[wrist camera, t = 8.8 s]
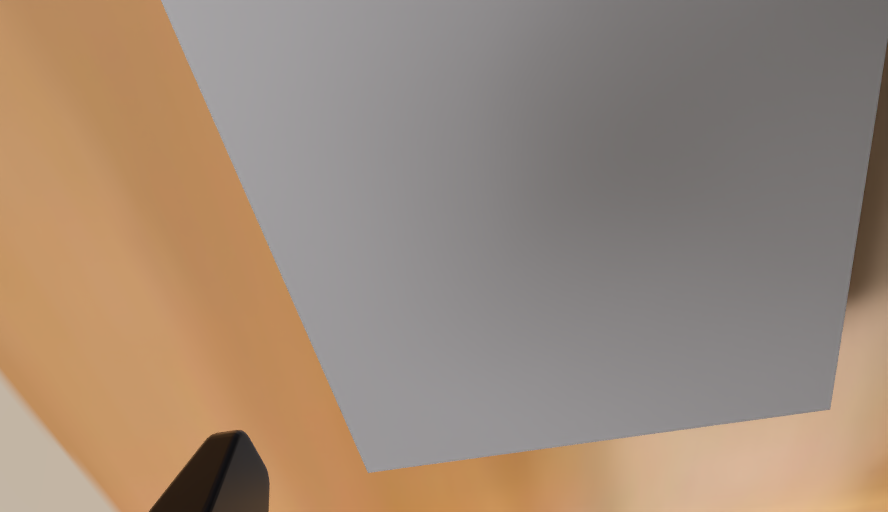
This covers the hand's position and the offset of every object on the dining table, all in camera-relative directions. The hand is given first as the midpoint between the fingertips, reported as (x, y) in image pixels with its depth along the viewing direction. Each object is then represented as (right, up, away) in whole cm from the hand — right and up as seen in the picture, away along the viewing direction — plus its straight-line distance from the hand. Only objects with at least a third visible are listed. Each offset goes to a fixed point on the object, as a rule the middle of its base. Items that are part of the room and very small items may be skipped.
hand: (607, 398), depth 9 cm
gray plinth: (0, +5, +7) cm, 8 cm away
